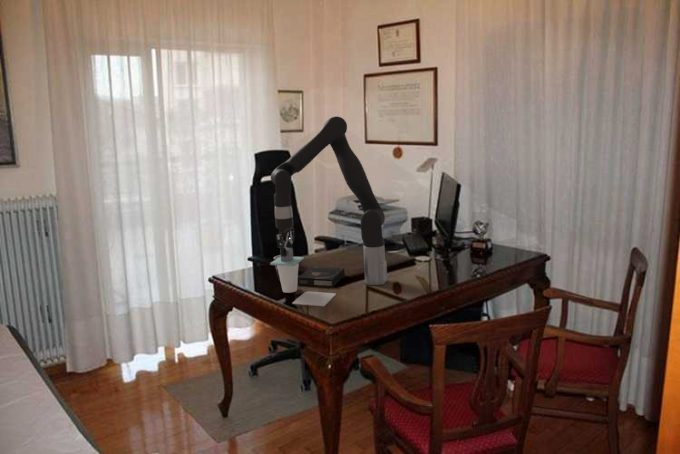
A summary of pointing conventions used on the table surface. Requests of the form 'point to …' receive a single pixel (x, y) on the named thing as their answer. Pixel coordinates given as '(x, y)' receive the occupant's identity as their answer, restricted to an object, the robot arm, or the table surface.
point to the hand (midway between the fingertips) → (286, 254)
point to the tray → (314, 298)
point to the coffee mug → (276, 265)
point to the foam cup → (288, 277)
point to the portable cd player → (321, 276)
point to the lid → (287, 259)
